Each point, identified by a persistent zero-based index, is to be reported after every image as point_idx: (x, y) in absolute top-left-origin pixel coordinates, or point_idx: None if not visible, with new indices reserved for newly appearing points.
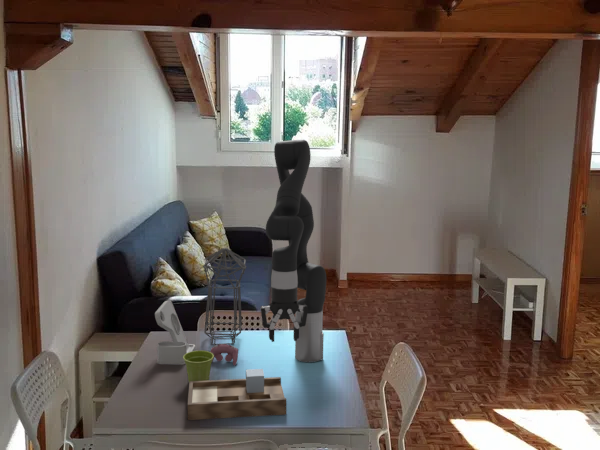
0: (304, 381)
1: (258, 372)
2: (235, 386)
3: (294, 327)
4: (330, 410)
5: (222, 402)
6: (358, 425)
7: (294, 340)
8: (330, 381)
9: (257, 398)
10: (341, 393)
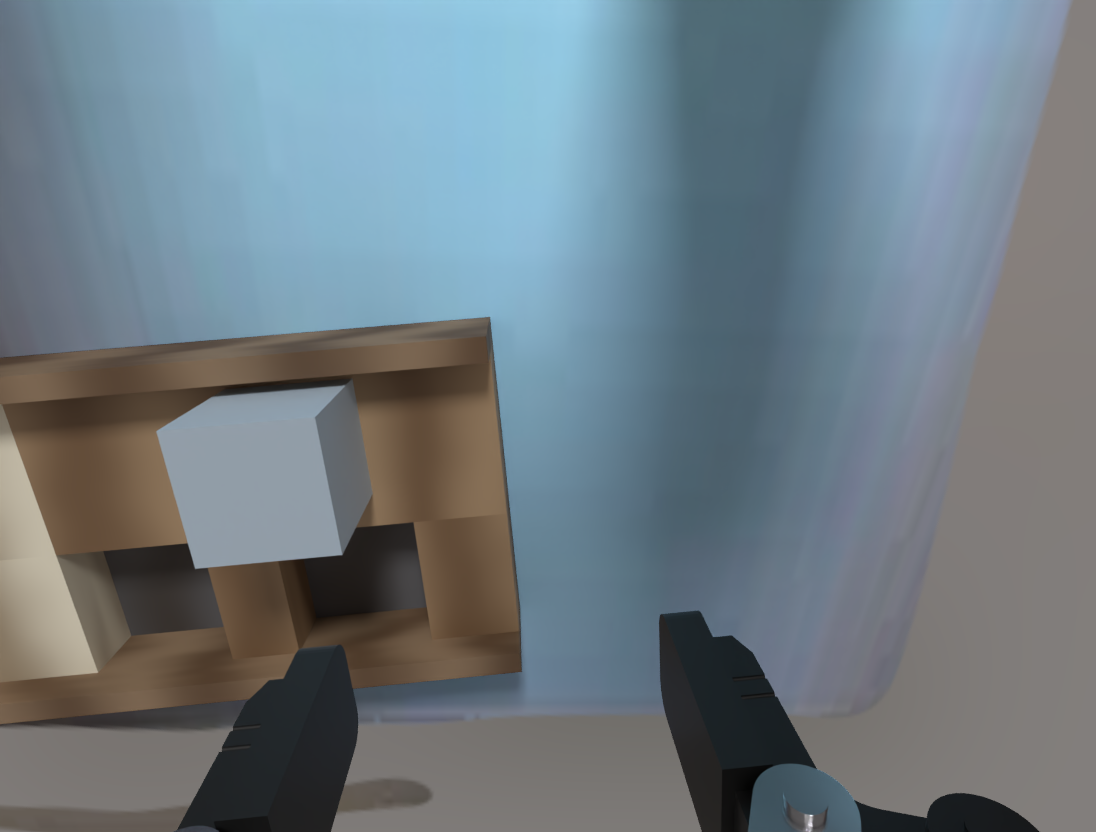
0: (675, 154)
1: (284, 492)
2: (146, 404)
3: (732, 815)
4: (766, 569)
5: (114, 709)
6: (864, 704)
7: (664, 703)
8: (867, 163)
9: None
10: (887, 363)
